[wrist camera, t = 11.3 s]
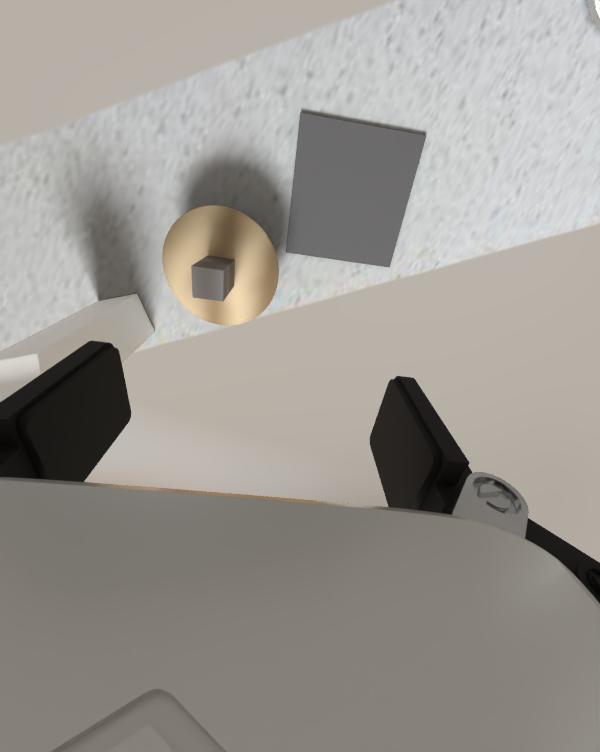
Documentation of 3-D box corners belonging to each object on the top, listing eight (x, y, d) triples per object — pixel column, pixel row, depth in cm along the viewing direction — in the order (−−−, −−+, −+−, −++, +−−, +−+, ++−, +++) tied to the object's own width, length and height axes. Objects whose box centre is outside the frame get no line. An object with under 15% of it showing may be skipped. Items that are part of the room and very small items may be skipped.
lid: (284, 216, 32) (282, 220, 26) (273, 329, 38) (268, 352, 32) (159, 195, 31) (127, 194, 25) (169, 315, 37) (146, 337, 31)
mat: (424, 136, 33) (426, 135, 33) (388, 266, 40) (389, 267, 40) (300, 113, 32) (300, 112, 32) (285, 251, 39) (285, 252, 39)
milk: (98, 300, 42) (-65, 381, 23) (138, 293, 42) (4, 369, 23) (119, 339, 45) (-10, 439, 26) (156, 332, 45) (52, 429, 26)
